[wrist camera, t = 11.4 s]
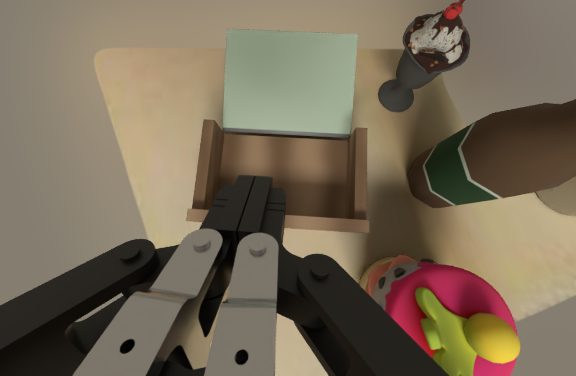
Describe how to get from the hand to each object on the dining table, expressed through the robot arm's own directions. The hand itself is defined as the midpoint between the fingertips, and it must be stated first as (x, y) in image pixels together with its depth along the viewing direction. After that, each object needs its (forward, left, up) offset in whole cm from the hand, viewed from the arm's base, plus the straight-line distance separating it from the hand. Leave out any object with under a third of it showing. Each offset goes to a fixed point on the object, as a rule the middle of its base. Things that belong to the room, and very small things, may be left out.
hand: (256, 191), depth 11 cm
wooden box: (0, -4, -21) cm, 21 cm away
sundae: (-15, -18, -21) cm, 32 cm away
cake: (-15, +9, -21) cm, 27 cm away
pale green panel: (0, -11, -18) cm, 21 cm away
